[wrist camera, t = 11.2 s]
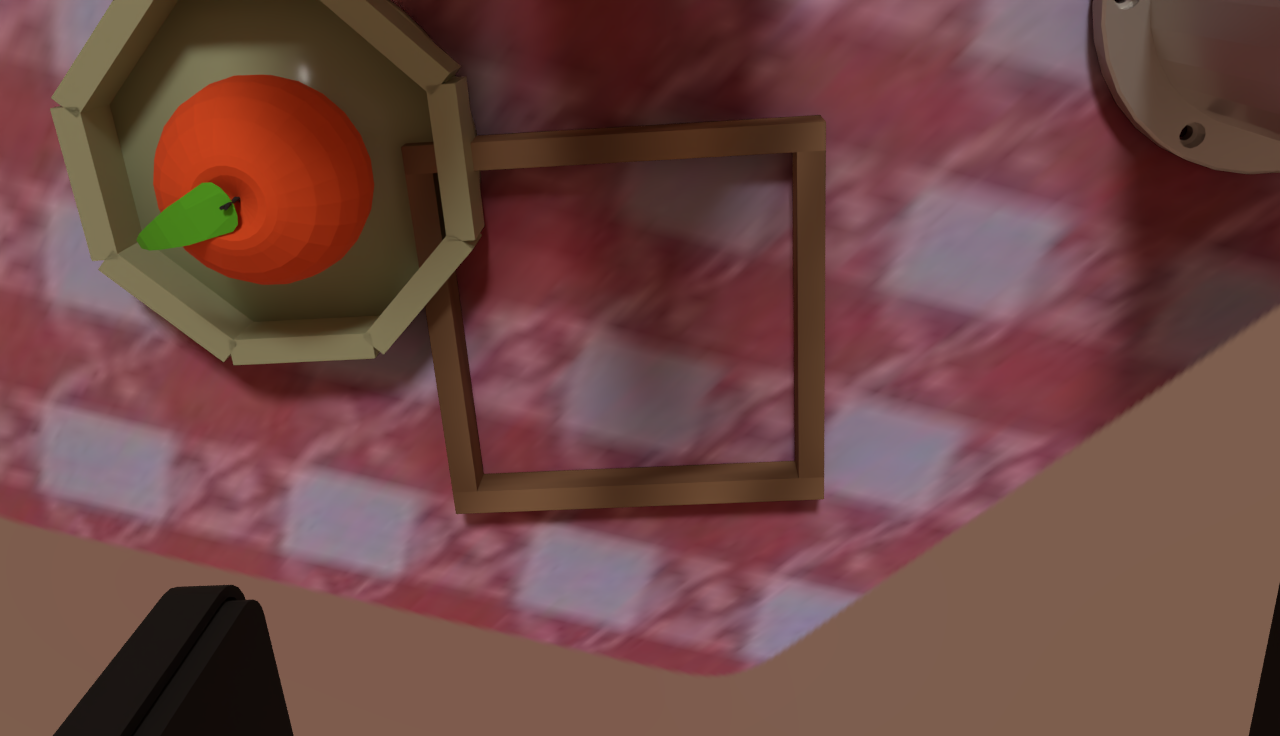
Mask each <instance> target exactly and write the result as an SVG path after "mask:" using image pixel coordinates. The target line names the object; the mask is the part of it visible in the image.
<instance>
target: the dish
mask: <svg viewBox="0 0 1280 736" xmlns="http://www.w3.org/2000/svg"><path fill="white" fill-rule="evenodd" d="M460 67H461V66H460V65H459V64H458V63H457V62H455V61H454V60H453V59H452V58H451V57H450V56H449V55H447V54H446V53H445V52H444V51H443V50H442V49H440V48H439V47H438V46H437V45H436V44H435V43H434V42H433V41H432V40H431V38H430V37H429V36H428V35H427V33H426V32H425V31H424V30H423V29H422V28H421V27H420V26H419V25H418V24H417V23H416V22H415V21H414V20H413V19H412V18H411V17H410V16H409V15H408V14H407V13H406V12H405V11H404V10H402V9H401V8H400V7H398V6H397V5H396V4H395V3H393V2H392V1H391V0H113V1H112V3H111V5H110V6H109V8H108V9H107V11H106V13H105V14H104V16H103V17H102V19H101V20H100V22H99V24H98V25H97V27H96V28H95V30H94V31H93V33H92V35H91V36H90V38H89V39H88V41H87V42H86V44H85V46H84V47H83V49H82V50H81V52H80V53H79V55H78V57H77V58H76V60H75V61H74V63H73V64H72V66H71V68H70V69H69V71H68V72H67V74H66V76H65V77H64V79H63V80H62V82H61V83H60V85H59V87H58V88H57V90H56V91H55V93H54V94H53V96H52V99H53V100H54V101H56V102H57V103H58V104H60V105H61V106H58V107H54V108H50V110H51V114H52V117H53V121H54V125H55V128H56V132H57V135H58V139H59V143H60V146H61V150H62V154H63V157H64V161H65V165H66V168H67V172H68V175H69V179H70V183H71V186H72V190H73V194H74V197H75V201H76V205H77V208H78V212H79V216H80V219H81V223H82V226H83V230H84V234H85V237H86V241H87V245H88V248H89V252H90V256H91V259H92V261H98V260H105V261H104V262H103V264H102V265H101V266H100V268H99V269H98V270H99V271H100V272H102V273H103V274H105V275H106V276H107V277H109V278H110V279H111V280H113V281H114V282H115V283H117V284H118V285H119V286H121V287H122V288H124V289H125V290H126V291H128V292H129V293H130V294H132V295H133V296H134V297H136V298H137V299H138V300H140V301H141V302H143V303H144V304H145V305H147V306H148V307H149V308H151V309H152V310H153V311H155V312H156V313H157V314H159V315H160V316H162V317H163V318H164V319H166V320H167V321H168V322H170V323H171V324H172V325H174V326H175V327H176V328H178V329H179V330H181V331H182V332H183V333H185V334H186V335H187V336H189V337H190V338H191V339H193V340H194V341H195V342H197V343H198V344H200V345H201V346H202V347H204V348H205V349H206V350H208V351H209V352H210V353H212V354H213V355H214V356H216V357H217V358H219V359H220V360H221V361H223V362H225V361H226V360H227V359H228V358H229V357H230V356H231V357H232V361H233V365H249V364H270V363H290V362H311V361H332V360H353V359H373V358H376V357H377V355H378V354H379V352H381V353H382V354H385V352H386V351H387V350H388V349H389V348H390V347H391V345H392V344H393V343H394V342H395V341H396V339H397V338H398V337H399V336H400V335H401V334H402V332H403V331H404V330H405V329H406V328H407V326H408V325H409V324H410V323H411V322H412V321H413V319H414V318H415V317H416V316H417V315H418V313H419V312H420V311H421V310H422V309H423V308H424V306H425V305H426V304H427V303H428V302H429V300H430V299H431V298H432V297H433V296H434V295H435V293H436V292H437V291H438V290H439V289H440V287H441V286H442V285H443V284H444V283H445V282H446V280H447V279H448V278H449V277H450V276H451V274H452V273H453V272H454V271H455V270H456V269H457V267H458V266H459V265H460V264H461V263H462V262H463V260H464V259H465V258H466V257H467V256H468V254H469V253H470V252H471V251H472V250H473V248H474V247H475V245H476V244H477V242H478V241H479V239H480V238H481V236H482V235H481V234H480V232H481V231H482V229H483V228H484V226H485V224H484V216H483V208H482V200H481V192H480V180H481V170H480V171H474V167H473V159H472V151H471V142H472V141H473V140H474V138H475V137H476V136H477V133H476V127H475V123H474V120H473V117H472V113H471V110H470V103H469V95H468V86H467V78H466V76H464V77H456V75H455V74H456V72H457V71H458V70H459V69H460ZM237 75H274V76H278V77H283V78H287V79H291V80H296V81H299V82H301V83H303V84H305V85H307V86H309V87H311V88H313V89H315V90H317V91H319V92H321V93H323V94H324V95H325V96H326V97H327V98H329V99H330V100H331V101H332V102H333V103H334V104H336V105H337V106H338V107H339V108H340V109H341V110H342V111H344V112H345V114H346V115H347V116H348V118H349V119H350V121H351V122H352V123H353V125H354V126H355V128H356V129H357V130H358V132H359V133H360V135H361V137H362V139H363V142H364V144H365V147H366V149H367V152H368V154H369V156H370V159H371V165H372V172H373V179H374V192H373V200H372V208H371V211H370V214H369V216H368V218H367V221H366V223H365V225H364V228H363V230H362V232H361V234H360V236H359V238H358V240H357V241H356V243H355V244H354V245H353V246H352V247H351V248H350V250H349V251H348V252H347V253H346V254H345V256H344V257H343V258H342V259H341V260H339V261H338V262H336V263H335V264H333V265H332V266H330V267H329V268H327V269H325V270H324V271H322V272H321V273H319V274H316V275H314V276H312V277H309V278H306V279H303V280H299V281H296V282H293V283H290V284H273V285H261V284H256V283H252V282H247V281H242V280H238V279H233V278H229V277H227V276H225V275H223V274H220V273H218V272H216V271H214V270H212V269H210V268H208V267H206V266H205V265H203V264H202V263H201V262H200V261H198V260H197V259H196V258H194V257H193V256H192V255H191V254H189V253H188V252H187V251H186V250H185V249H184V248H183V247H176V248H170V249H163V250H151V251H149V250H146V249H142V248H141V247H140V245H139V244H138V242H137V241H136V240H137V237H138V235H139V233H140V232H141V231H142V230H143V229H144V228H145V227H146V226H147V225H148V224H149V223H150V222H151V221H153V220H154V219H155V218H156V217H157V216H158V215H159V214H160V213H161V212H160V210H159V208H158V204H157V199H156V195H155V190H154V186H153V174H154V158H155V152H156V148H157V145H158V142H159V139H160V137H161V134H162V131H163V128H164V126H165V124H166V123H167V122H168V120H169V119H170V118H171V116H172V115H173V113H174V112H175V111H176V109H177V108H178V107H179V106H180V105H181V104H182V103H184V102H185V101H187V100H188V99H189V98H191V97H192V96H193V95H195V94H196V93H198V92H199V91H200V90H202V89H203V88H204V87H206V86H207V85H209V84H211V83H214V82H217V81H220V80H223V79H226V78H229V77H232V76H237ZM419 142H434V150H435V157H436V164H437V171H438V173H437V175H438V182H439V189H440V196H441V203H442V211H443V218H444V225H445V232H446V236H445V238H444V239H443V240H442V241H441V243H440V244H439V245H438V246H437V247H436V249H435V250H434V251H433V252H432V253H431V255H430V256H429V257H428V258H427V259H426V261H425V262H424V263H423V264H422V265H421V267H420V268H419V264H418V257H417V250H416V244H415V237H414V230H413V224H412V217H411V210H410V204H409V197H408V191H407V184H406V177H405V171H404V164H403V157H402V151H401V146H403V145H404V144H405V143H419Z"/></svg>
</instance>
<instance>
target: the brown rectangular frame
mask: <svg viewBox="0 0 1280 736" xmlns="http://www.w3.org/2000/svg"><path fill="white" fill-rule="evenodd" d="M401 151H402V157H403V164H404V171H405V177H406V184H407V191H408V197H409V204H410V210H411V217H412V224H413V230H414V237H415V244H416V250H417V257H418V264H419V268H420V267H421V265H422V264H423V263H424V262H425V261H426V259H427V258H428V257H429V256H430V255H431V253H432V252H433V251H434V250H435V249H436V247H437V246H438V245H439V244H440V243H441V241H442V240H443V239H444V238H445V236H446V232H445V225H444V218H443V211H442V203H441V196H440V189H439V182H438V175H437V173H438V171H437V164H436V157H435V150H434V142H419V143H405V144H404V145H403V146H401ZM471 151H472V159H473V167H474V171H480V170H497V169H514V168H532V167H549V166H566V165H584V164H601V163H618V162H636V161H653V160H671V159H688V158H705V157H723V156H740V155H757V154H775V153H792V152H793V284H794V422H795V461H781V462H757V463H733V464H710V465H686V466H662V467H638V468H614V469H591V470H567V471H543V472H519V473H496V474H483V466H482V459H481V452H480V444H479V437H478V430H477V422H476V415H475V408H474V400H473V393H472V386H471V378H470V371H469V364H468V357H467V349H466V342H465V335H464V327H463V320H462V313H461V305H460V298H459V291H458V283H457V276H456V270H455V271H454V272H453V273H452V274H451V276H450V277H449V278H448V279H447V280H446V282H445V283H444V284H443V285H442V286H441V287H440V289H439V290H438V291H437V292H436V293H435V295H434V296H433V297H432V298H431V299H430V300H429V302H428V303H427V304H426V305H425V310H426V317H427V324H428V330H429V337H430V343H431V350H432V357H433V363H434V370H435V377H436V383H437V390H438V397H439V403H440V410H441V417H442V423H443V430H444V437H445V443H446V450H447V457H448V463H449V470H450V477H451V483H452V490H453V496H454V503H455V510H456V514H467V513H492V512H517V511H542V510H567V509H592V508H617V507H642V506H667V505H692V504H717V503H742V502H767V501H791V500H816V499H824V383H825V178H826V121H825V120H824V119H823V118H822V117H821V116H820V115H814V116H797V117H780V118H763V119H747V120H730V121H713V122H696V123H679V124H662V125H646V126H629V127H612V128H595V129H578V130H561V131H545V132H528V133H511V134H494V135H477V136H476V137H475V138H474V140H473V141H472V142H471Z"/></svg>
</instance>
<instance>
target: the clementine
mask: <svg viewBox="0 0 1280 736" xmlns="http://www.w3.org/2000/svg"><path fill="white" fill-rule="evenodd" d="M153 186H154V190H155V195H156V199H157V204H158V208H159V210H160V212H161V213H160V214H159V215H158V216H157V217H156V218H155V219H154V220H153V221H151V222H150V223H149V224H148V225H147V226H146V227H145V228H144V229H143V230H142V231H141V232H140V233H139V235H138V237H137V240H136V241H137V242H138V244H139V245H140V247H141V248H142V249H146V250H149V251H151V250H163V249H170V248H176V247H183V248H184V249H185V250H186V251H187V252H188V253H189V254H191V255H192V256H193V257H194V258H196V259H197V260H198V261H200V262H201V263H202V264H203V265H205V266H206V267H208V268H210V269H212V270H214V271H216V272H218V273H220V274H223V275H225V276H227V277H229V278H233V279H238V280H242V281H247V282H252V283H256V284H261V285H273V284H290V283H293V282H296V281H299V280H303V279H306V278H309V277H312V276H314V275H316V274H319V273H321V272H322V271H324V270H325V269H327V268H329V267H330V266H332V265H333V264H335V263H336V262H338V261H339V260H341V259H342V258H343V257H344V256H345V254H346V253H347V252H348V251H349V250H350V248H351V247H352V246H353V245H354V244H355V243H356V241H357V240H358V238H359V236H360V234H361V232H362V230H363V228H364V225H365V223H366V221H367V218H368V216H369V214H370V211H371V208H372V200H373V192H374V179H373V172H372V165H371V159H370V156H369V154H368V152H367V149H366V147H365V144H364V142H363V139H362V137H361V135H360V133H359V132H358V130H357V129H356V128H355V126H354V125H353V123H352V122H351V121H350V119H349V118H348V116H347V115H346V114H345V112H344V111H342V110H341V109H340V108H339V107H338V106H337V105H336V104H334V103H333V102H332V101H331V100H330V99H329V98H327V97H326V96H325V95H324V94H323V93H321V92H319V91H317V90H315V89H313V88H311V87H309V86H307V85H305V84H303V83H301V82H299V81H296V80H291V79H287V78H283V77H278V76H274V75H237V76H232V77H229V78H226V79H223V80H220V81H217V82H214V83H211V84H209V85H207V86H206V87H204V88H203V89H202V90H200V91H199V92H198V93H196V94H195V95H193V96H192V97H191V98H189V99H188V100H187V101H185V102H184V103H182V104H181V105H180V106H179V107H178V108H177V109H176V111H175V112H174V113H173V115H172V116H171V118H170V119H169V120H168V122H167V123H166V124H165V126H164V128H163V131H162V134H161V137H160V139H159V142H158V145H157V148H156V152H155V158H154V174H153Z"/></svg>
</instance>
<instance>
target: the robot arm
mask: <svg viewBox="0 0 1280 736" xmlns="http://www.w3.org/2000/svg"><path fill="white" fill-rule="evenodd" d="M1092 9H1093V33H1094V44H1095V48H1096V52H1097V56H1098V60H1099V64H1100V68H1101V73H1102V75H1103V77H1104V80H1105V82H1106V84H1107V86H1108V88H1109V90H1110V92H1111V94H1112V96H1113V98H1114V100H1115V102H1116V104H1117V105H1118V106H1119V108H1120V109H1121V110H1122V111H1123V113H1124V114H1125V115H1126V116H1127V118H1128V119H1129V120H1130V121H1131V123H1132V124H1133V125H1134V126H1135V128H1136V129H1138V130H1139V131H1140V132H1141V133H1143V134H1144V135H1145V136H1147V137H1148V138H1149V139H1150V140H1152V141H1153V142H1154V143H1155V144H1157V145H1158V146H1159V147H1161V148H1163V149H1165V150H1167V151H1169V152H1171V153H1173V154H1175V155H1177V156H1179V157H1181V158H1183V159H1185V160H1188V161H1190V162H1193V163H1196V164H1199V165H1202V166H1205V167H1208V168H1211V169H1214V170H1220V171H1227V172H1235V173H1242V174H1261V173H1279V172H1280V0H1120V1H1119V2H1115V0H1093V4H1092ZM1185 126H1187V132H1186V134H1185V135H1184V136H1183V137H1181V138H1180V137H1179V136H1180V133H1181V131H1182V129H1183V128H1184V127H1185ZM53 736H293V732H292V728H291V723H290V719H289V715H288V711H287V707H286V703H285V699H284V694H283V690H282V686H281V682H280V678H279V674H278V670H277V665H276V661H275V657H274V653H273V649H272V645H271V641H270V636H269V632H268V628H267V624H266V620H265V616H264V613H263V610H262V607H261V606H260V604H259V603H258V601H255V600H245V597H244V594H243V593H242V592H241V590H240V589H239V588H238V587H236V586H234V585H219V586H218V585H216V586H189V587H175V588H171V589H169V591H167V592H166V593H165V594H164V595H163V596H162V597H161V599H160V600H159V601H158V603H157V604H156V605H155V606H154V608H153V609H152V610H151V611H150V613H149V614H148V615H147V617H146V618H145V619H144V620H143V622H142V623H141V624H140V626H139V627H138V628H137V629H136V630H135V632H134V633H133V634H132V636H131V637H130V638H129V639H128V641H127V642H126V643H125V644H124V646H123V647H122V648H121V650H120V651H119V652H118V653H117V655H116V656H115V657H114V659H113V660H112V661H111V662H110V664H109V665H108V666H107V667H106V669H105V670H104V671H103V673H102V674H101V675H100V676H99V678H98V679H97V680H96V681H95V683H94V684H93V685H92V687H91V688H90V689H89V690H88V692H87V693H86V694H85V695H84V697H83V698H82V699H81V701H80V702H79V703H78V704H77V706H76V707H75V708H74V709H73V711H72V712H71V713H70V715H69V716H68V717H67V718H66V720H65V721H64V722H63V724H62V725H61V726H60V727H59V729H58V730H57V731H56V733H55V734H54V735H53ZM1249 736H1280V585H1279V590H1278V595H1277V599H1276V605H1275V609H1274V614H1273V619H1272V624H1271V629H1270V634H1269V639H1268V644H1267V649H1266V654H1265V658H1264V663H1263V668H1262V673H1261V678H1260V684H1259V688H1258V693H1257V698H1256V703H1255V708H1254V713H1253V717H1252V722H1251V727H1250V733H1249Z"/></svg>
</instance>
